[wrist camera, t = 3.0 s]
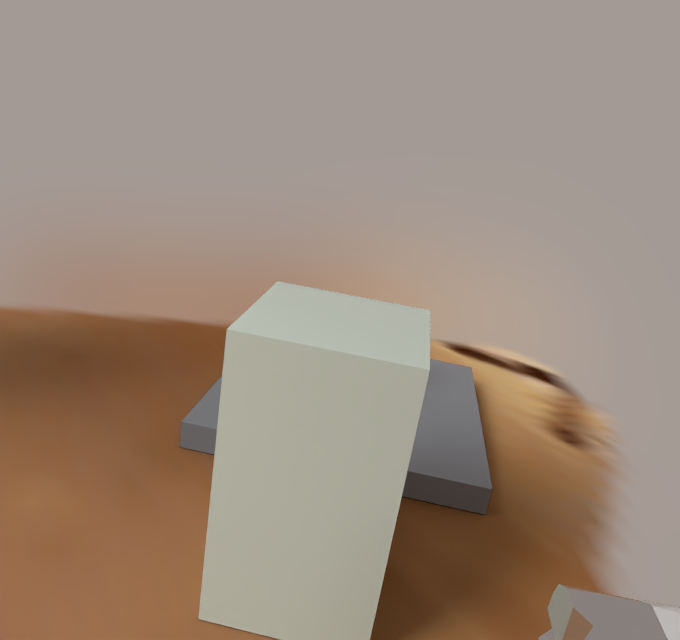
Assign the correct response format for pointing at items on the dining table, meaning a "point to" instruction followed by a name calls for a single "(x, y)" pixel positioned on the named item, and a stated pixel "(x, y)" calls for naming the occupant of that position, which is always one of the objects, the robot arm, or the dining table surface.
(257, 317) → the cover
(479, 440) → the board
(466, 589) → the dining table surface
